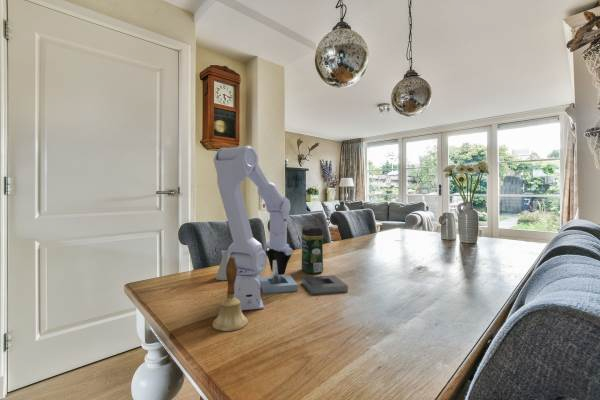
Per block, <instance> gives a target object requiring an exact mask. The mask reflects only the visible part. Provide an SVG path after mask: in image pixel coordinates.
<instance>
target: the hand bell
mask: <svg viewBox="0 0 600 400" xmlns="http://www.w3.org/2000/svg"><path fill="white" fill-rule="evenodd" d="M236 276H237V265H236V262H235V257H229V261H228V263H227V267H226V277H227V280H226V281H227V293H226V298H225V299H222V301H221V302H220V308H219V312H218V315H217V317H216V318H215V319H214V320H213V322H212V324H211V326H212V327H213V328H214V330H216V331H221V332H232V331H239V330H242V329H243V328H245V327H246V326H247V325H248V323H249V320H248V318H247V317H246V316H245V315H244V313H243V310H241V306H240V300H239V299H236V298H235V279H236Z"/></svg>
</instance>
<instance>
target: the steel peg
mask: <svg viewBox="0 0 600 400" xmlns="http://www.w3.org/2000/svg"><path fill="white" fill-rule="evenodd" d="M272 276H273V283H283V282H284V276H285V274H282V275H278V270H277V262H276V258H274V259H273V272H272Z"/></svg>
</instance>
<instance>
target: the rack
mask: <svg viewBox="0 0 600 400" xmlns="http://www.w3.org/2000/svg"><path fill="white" fill-rule="evenodd" d="M298 287H299V285H298V283H297V282H296V281H295V280H294V278H293V277H292V276H291V274H290V275H284V282H283V283H273V275H272V276H271V275H270V276H260V289H261V290H262V293H263V294H274V293H275V294H276V293H288V292H298V291H299V290H298V289H299V288H298Z"/></svg>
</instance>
